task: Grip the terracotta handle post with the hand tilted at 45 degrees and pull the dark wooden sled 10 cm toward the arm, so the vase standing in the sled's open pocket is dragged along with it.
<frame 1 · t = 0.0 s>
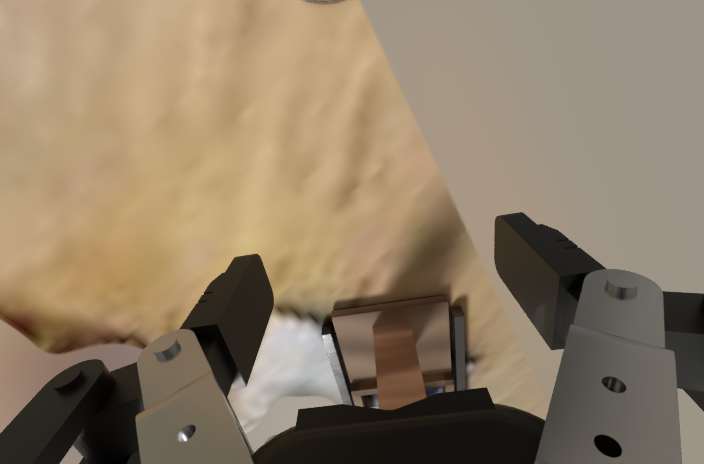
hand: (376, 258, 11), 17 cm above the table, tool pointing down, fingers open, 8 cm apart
lane rails: (401, 384, 42), on the table
sled: (407, 427, 35), point 7 cm above the table, slide at 0.0 cm
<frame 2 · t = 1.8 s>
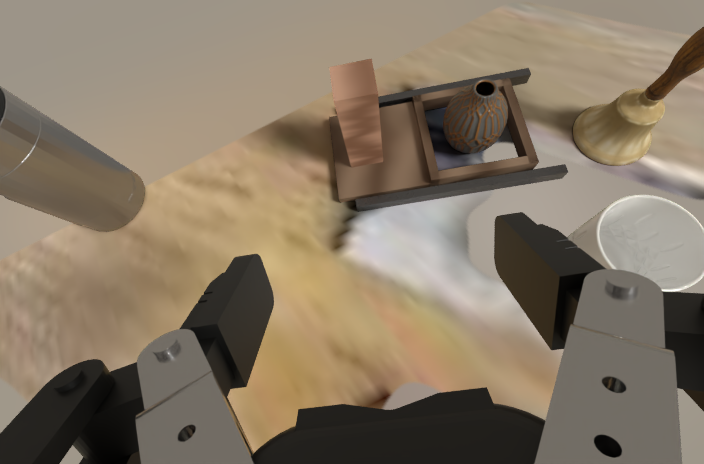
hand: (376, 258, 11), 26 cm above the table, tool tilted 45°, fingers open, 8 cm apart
vase: (467, 138, 42), resting in sled
hand bell: (609, 136, 40), on the table
lane rails: (444, 141, 42), on the table
white cup: (583, 268, 35), on the table
sled: (428, 110, 36), point 7 cm above the table, slide at 0.0 cm
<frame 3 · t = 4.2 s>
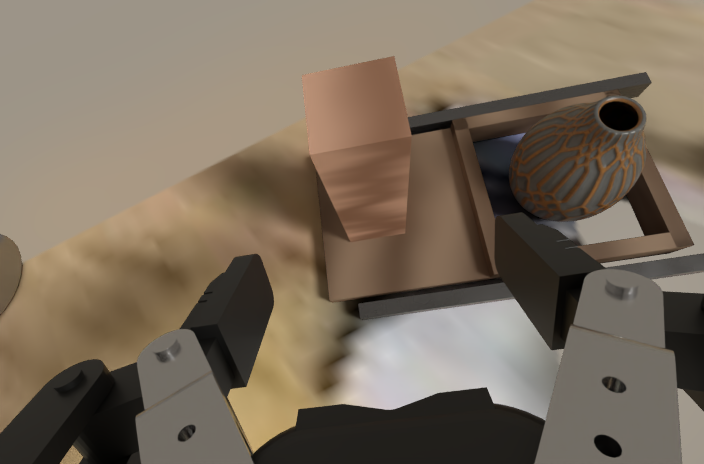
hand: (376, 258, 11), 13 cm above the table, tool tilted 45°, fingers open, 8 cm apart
vase: (545, 191, 25), resting in sled
lane rails: (505, 196, 25), on the table
sled: (496, 155, 19), point 7 cm above the table, slide at 0.0 cm
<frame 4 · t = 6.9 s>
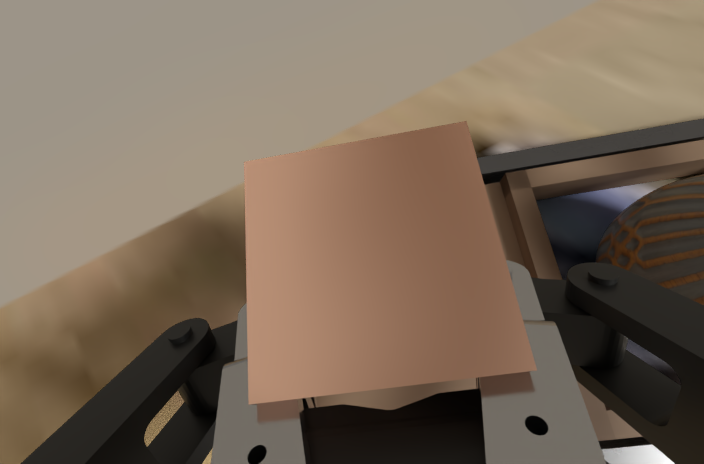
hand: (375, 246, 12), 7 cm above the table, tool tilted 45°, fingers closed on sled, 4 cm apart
vase: (644, 280, 17), resting in sled
lane rails: (585, 287, 17), on the table
sled: (614, 266, 11), point 7 cm above the table, slide at 0.0 cm, touching gripper
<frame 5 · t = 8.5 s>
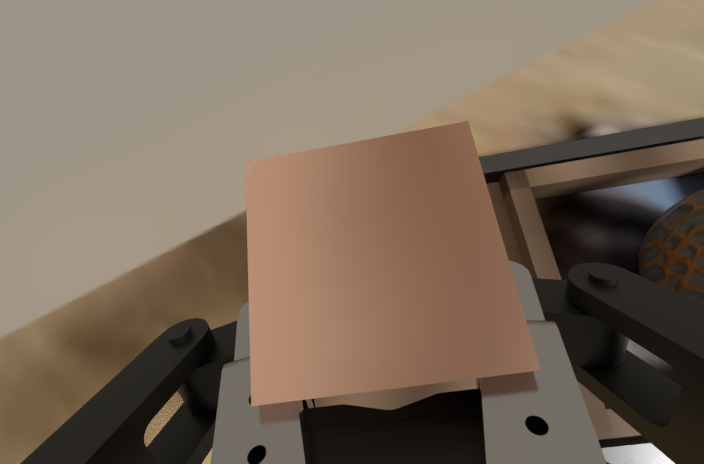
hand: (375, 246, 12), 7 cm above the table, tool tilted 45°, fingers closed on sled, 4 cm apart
vase: (685, 279, 17), resting in sled
sled: (614, 266, 11), point 7 cm above the table, slide at 5.8 cm, touching gripper, vase
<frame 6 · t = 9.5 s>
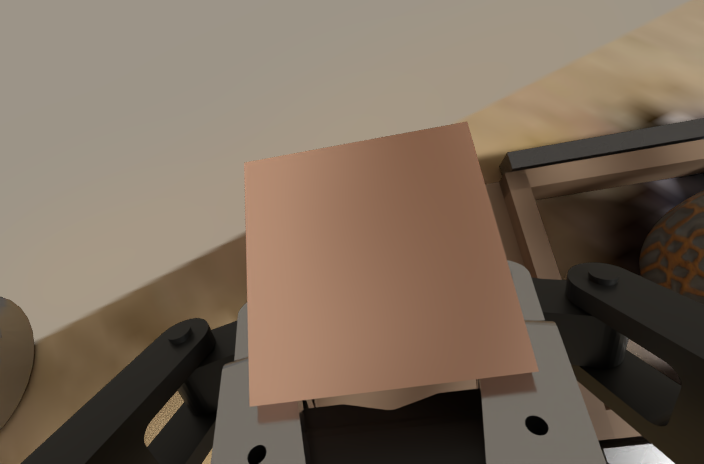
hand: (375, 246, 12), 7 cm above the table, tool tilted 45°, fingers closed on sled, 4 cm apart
vase: (686, 280, 17), resting in sled
sled: (614, 266, 11), point 7 cm above the table, slide at 9.8 cm, touching gripper, vase
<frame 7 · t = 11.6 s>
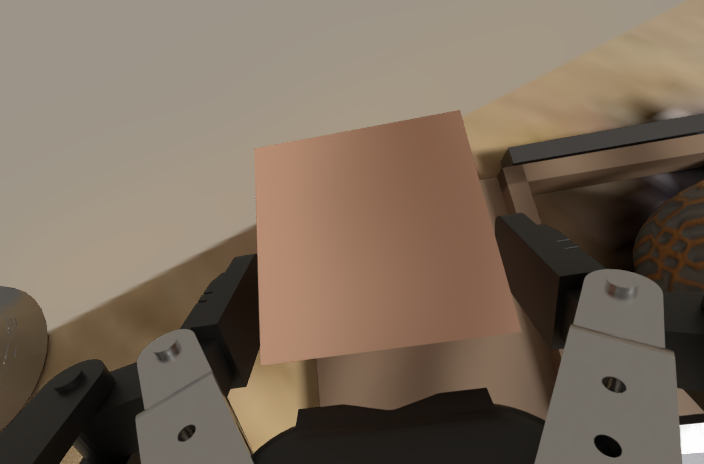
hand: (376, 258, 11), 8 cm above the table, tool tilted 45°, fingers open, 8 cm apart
vase: (679, 273, 17), resting in sled
sled: (605, 254, 11), point 7 cm above the table, slide at 9.9 cm
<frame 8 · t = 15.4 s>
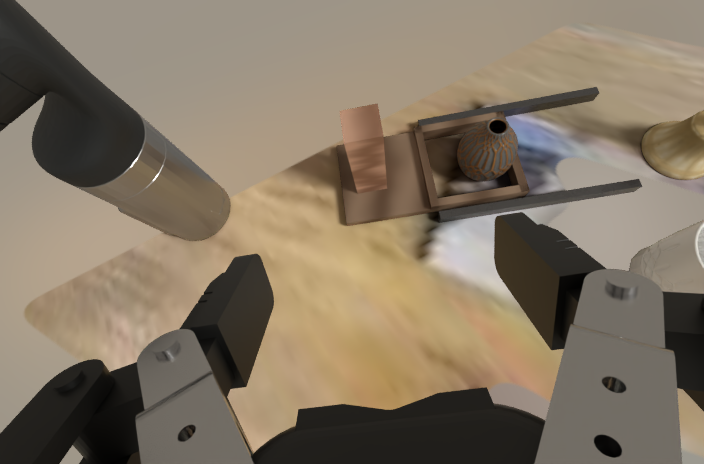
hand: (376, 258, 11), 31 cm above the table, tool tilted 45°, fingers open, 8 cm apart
vase: (479, 166, 45), resting in sled
hand bell: (676, 151, 42), on the table
lane rails: (517, 156, 45), on the table
white cup: (660, 276, 38), on the table
sled: (429, 145, 39), point 7 cm above the table, slide at 9.9 cm
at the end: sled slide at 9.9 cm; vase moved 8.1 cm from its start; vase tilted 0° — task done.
